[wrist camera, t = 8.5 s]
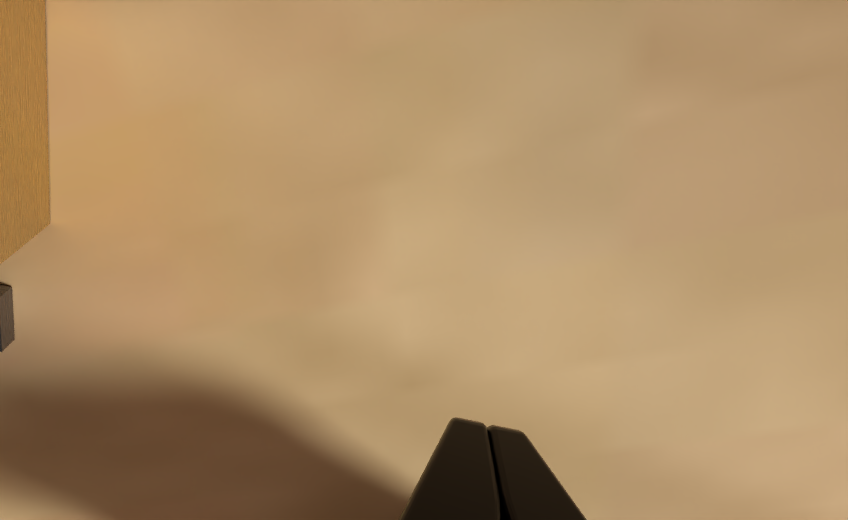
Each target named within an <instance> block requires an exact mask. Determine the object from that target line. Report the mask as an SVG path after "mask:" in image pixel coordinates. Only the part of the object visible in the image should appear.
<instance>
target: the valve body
mask: <svg viewBox="0 0 848 520" xmlns="http://www.w3.org/2000/svg"><path fill="white" fill-rule="evenodd" d="M49 224H50V213H49V166H48V120H47V74H46V27H45V0H0V264H1V263H2V262H4V261H5V260H6V259H7V258H8V257H10V256H11V255H12V254H13V253H15V252H16V251H17V250H18V249H20V248H21V247H22V246H23V245H24V244H26V243H27V242H28V241H29V240H31V239H32V238H33V237H34V236H36V235H37V234H38V233H39V232H40V231H42V230H43V229H44V228H45V227H47V226H48V225H49ZM13 340H14V320H13V301H12V287H10V286H5V285H0V352H2V351H3V350H4V349H5V348H6V347H7V346H8V345H9V344H10V343H11V342H12V341H13Z"/></svg>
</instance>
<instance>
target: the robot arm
mask: <svg viewBox="0 0 848 520" xmlns="http://www.w3.org/2000/svg"><path fill="white" fill-rule="evenodd" d="M399 520H586V518H585V517H584V515H583V514H582V513H581V511H580V510H579V509H578V507H577V506H576V504H575V503H574V502H573V500H572V499H571V497H570V496H569V495H568V493H567V492H566V490H565V489H564V488H563V486H562V485H561V483H560V482H559V481H558V479H557V478H556V476H555V475H554V474H553V472H552V471H551V470H550V468H549V467H548V465H547V464H546V463H545V461H544V460H543V458H542V457H541V456H540V454H539V453H538V451H537V450H536V449H535V447H534V446H533V444H532V443H531V442H530V440H529V439H528V437H527V436H526V435H525V434H524V433H523V432H521V431H519V430H515V429H510V428H505V427H500V426H495V425H491V426H489V427H486V426H485V425H484V424H483V423H481V422H476V421H471V420H467V419H462V418H453V419H451V420H450V422H449V424H448V425H447V427H446V429H445V431H444V433H443V435H442V437H441V439H440V441H439V443H438V445H437V447H436V449H435V451H434V453H433V455H432V456H431V458H430V460H429V462H428V464H427V466H426V468H425V470H424V472H423V474H422V476H421V478H420V480H419V482H418V484H417V486H416V487H415V489H414V491H413V493H412V495H411V497H410V499H409V501H408V503H407V505H406V507H405V509H404V511H403V513H402V515H401V517H400V518H399Z"/></svg>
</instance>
